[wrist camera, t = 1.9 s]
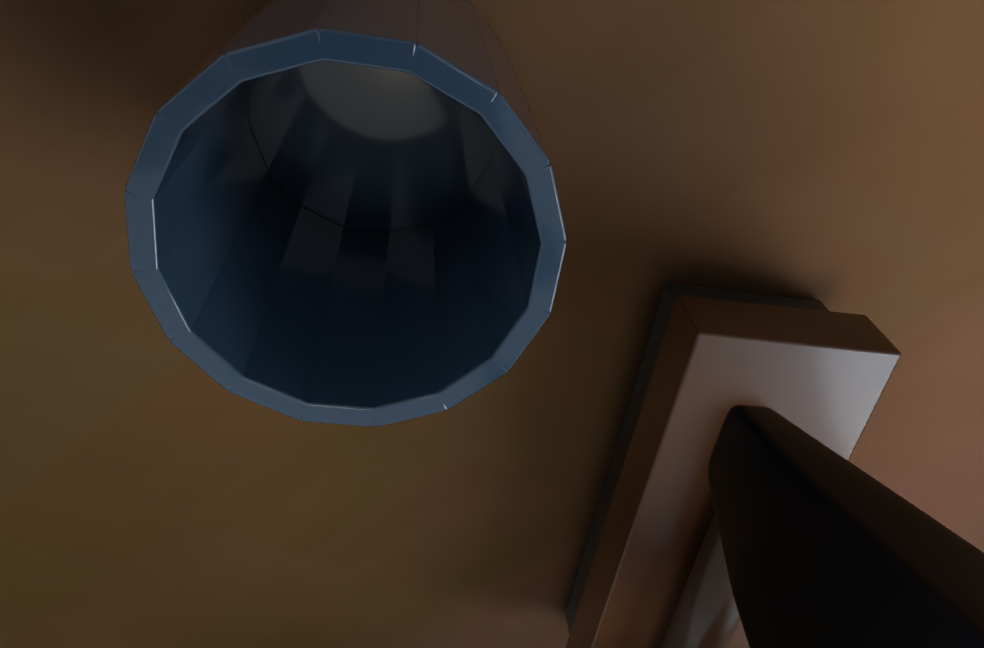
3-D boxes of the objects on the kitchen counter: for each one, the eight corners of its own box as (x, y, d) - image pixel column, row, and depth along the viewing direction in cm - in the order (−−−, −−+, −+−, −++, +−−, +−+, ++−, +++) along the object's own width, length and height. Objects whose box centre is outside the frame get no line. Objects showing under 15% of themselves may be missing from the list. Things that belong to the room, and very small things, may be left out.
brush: (689, 627, 28) (737, 767, 24) (553, 622, 27) (576, 764, 23) (837, 284, 21) (942, 394, 17) (659, 263, 20) (721, 373, 16)
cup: (491, 247, 20) (523, 439, 13) (236, 219, 19) (141, 409, 13) (537, -16, 17) (606, 70, 10) (234, -65, 16) (106, -5, 9)
